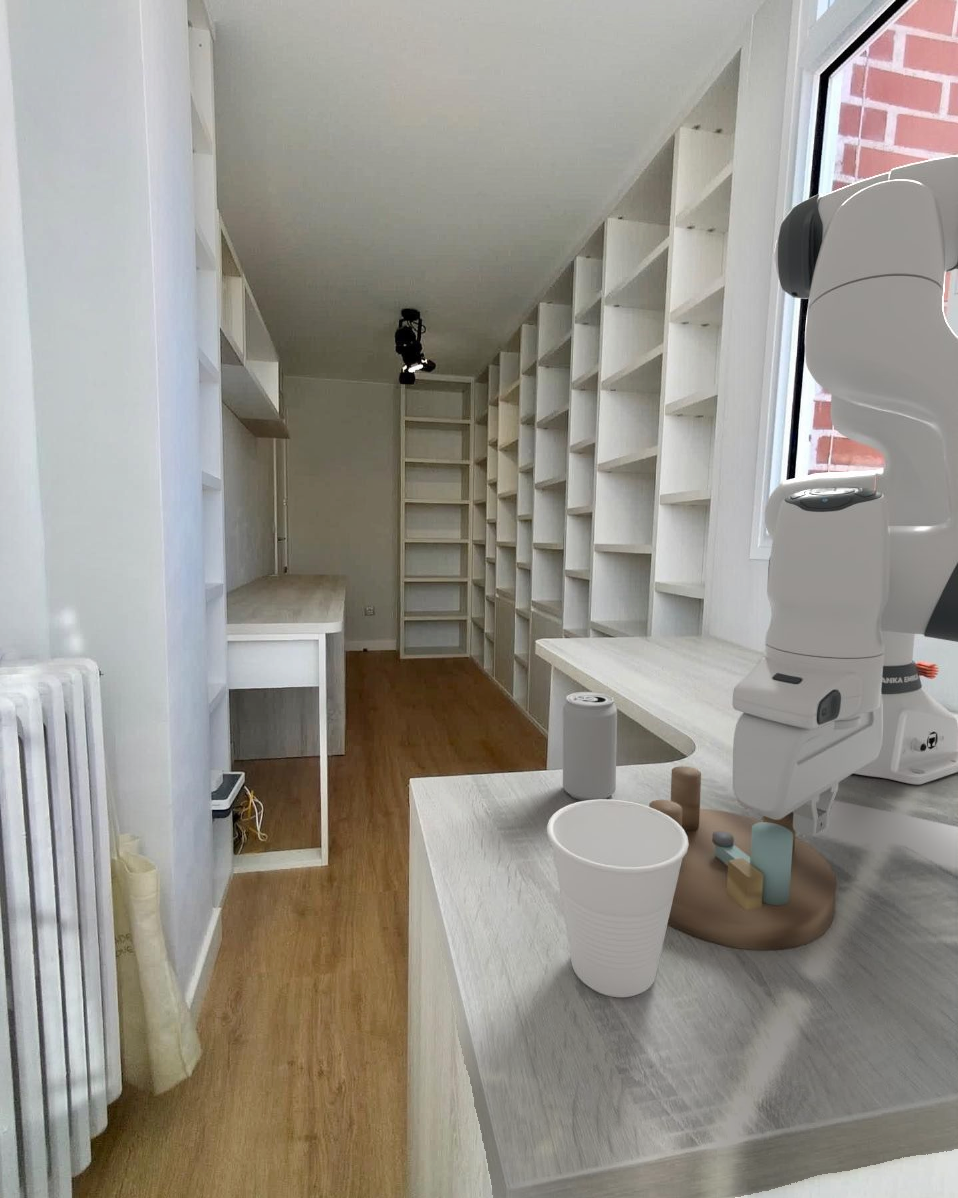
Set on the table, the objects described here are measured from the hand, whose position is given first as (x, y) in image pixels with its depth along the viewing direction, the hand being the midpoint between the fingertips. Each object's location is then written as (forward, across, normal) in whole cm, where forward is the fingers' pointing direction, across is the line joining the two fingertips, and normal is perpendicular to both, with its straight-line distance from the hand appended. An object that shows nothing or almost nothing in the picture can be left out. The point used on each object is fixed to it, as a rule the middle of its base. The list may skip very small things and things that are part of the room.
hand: (810, 829), depth 54 cm
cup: (+5, +22, -4) cm, 23 cm away
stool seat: (+5, +5, -5) cm, 9 cm away
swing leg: (+3, +7, -2) cm, 7 cm away
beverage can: (+6, +1, -25) cm, 26 cm away
